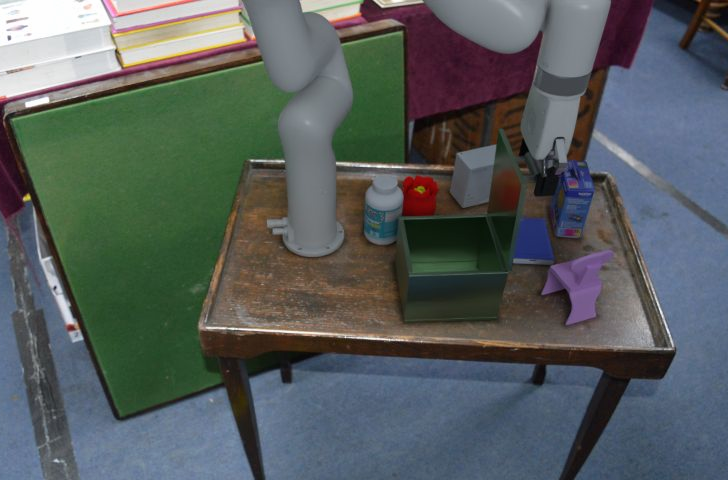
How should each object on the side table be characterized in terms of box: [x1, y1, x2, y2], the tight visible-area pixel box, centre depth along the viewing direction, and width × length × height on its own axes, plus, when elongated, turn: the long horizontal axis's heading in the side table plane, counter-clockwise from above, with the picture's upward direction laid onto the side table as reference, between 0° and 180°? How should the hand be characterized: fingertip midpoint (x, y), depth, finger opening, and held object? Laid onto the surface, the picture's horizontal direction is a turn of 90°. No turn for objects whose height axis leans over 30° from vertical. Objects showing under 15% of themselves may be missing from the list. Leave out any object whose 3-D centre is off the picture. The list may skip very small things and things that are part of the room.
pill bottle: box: [363, 173, 403, 246], centre depth 130 cm, size 8×7×14 cm
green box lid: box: [487, 128, 541, 272], centre depth 109 cm, size 17×16×5 cm
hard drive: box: [513, 217, 556, 266], centre depth 132 cm, size 2×8×12 cm
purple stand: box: [540, 249, 615, 326], centre depth 115 cm, size 8×9×15 cm
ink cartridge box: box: [548, 158, 596, 239], centre depth 132 cm, size 10×6×14 cm, turn 174°
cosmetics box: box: [449, 143, 497, 209], centre depth 140 cm, size 10×6×10 cm, turn 110°
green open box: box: [394, 213, 509, 324], centre depth 119 cm, size 17×16×12 cm
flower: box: [400, 174, 440, 217], centre depth 137 cm, size 8×8×8 cm
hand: (535, 176), depth 106 cm, fingers open, 9 cm apart
